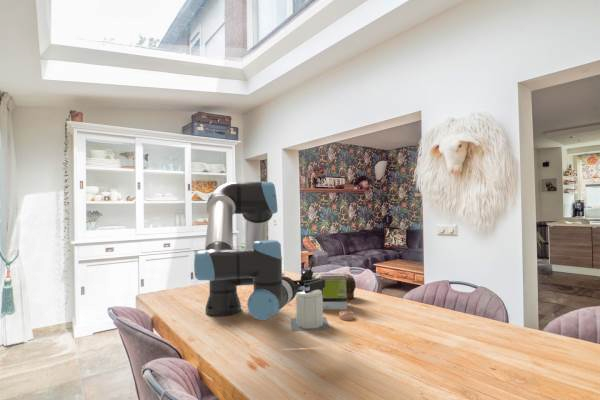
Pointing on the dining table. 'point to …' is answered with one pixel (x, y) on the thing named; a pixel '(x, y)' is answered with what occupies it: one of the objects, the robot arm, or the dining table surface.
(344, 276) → the tea box
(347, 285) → the shell
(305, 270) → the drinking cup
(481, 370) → the dining table surface
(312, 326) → the ribbed plastic canister
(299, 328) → the plate
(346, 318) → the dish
